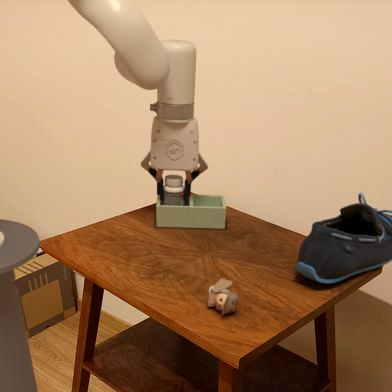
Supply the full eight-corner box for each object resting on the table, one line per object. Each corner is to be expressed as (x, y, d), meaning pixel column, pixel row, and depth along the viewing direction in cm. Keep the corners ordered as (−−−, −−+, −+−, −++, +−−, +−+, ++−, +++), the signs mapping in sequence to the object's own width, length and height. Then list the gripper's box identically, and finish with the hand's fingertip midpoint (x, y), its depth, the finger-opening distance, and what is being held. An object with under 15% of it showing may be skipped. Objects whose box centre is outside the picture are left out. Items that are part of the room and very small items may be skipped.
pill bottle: (184, 217, 116) (186, 180, 111) (164, 218, 115) (164, 180, 110) (182, 209, 119) (183, 173, 114) (162, 210, 119) (162, 173, 114)
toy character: (198, 289, 84) (232, 301, 82) (216, 274, 90) (247, 284, 89) (194, 311, 86) (227, 323, 84) (212, 294, 92) (243, 304, 91)
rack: (156, 227, 115) (156, 206, 112) (157, 213, 121) (157, 193, 118) (224, 228, 115) (226, 208, 113) (222, 215, 122) (224, 195, 119)
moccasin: (415, 250, 113) (435, 197, 106) (352, 302, 89) (372, 239, 82) (356, 230, 119) (371, 179, 112) (283, 275, 95) (297, 213, 89)
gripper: (132, 113, 101) (134, 203, 112) (218, 117, 102) (212, 206, 112) (135, 105, 107) (137, 191, 118) (216, 109, 108) (210, 194, 118)
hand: (173, 197), depth 115 cm, fingers closed on pill bottle, 4 cm apart
